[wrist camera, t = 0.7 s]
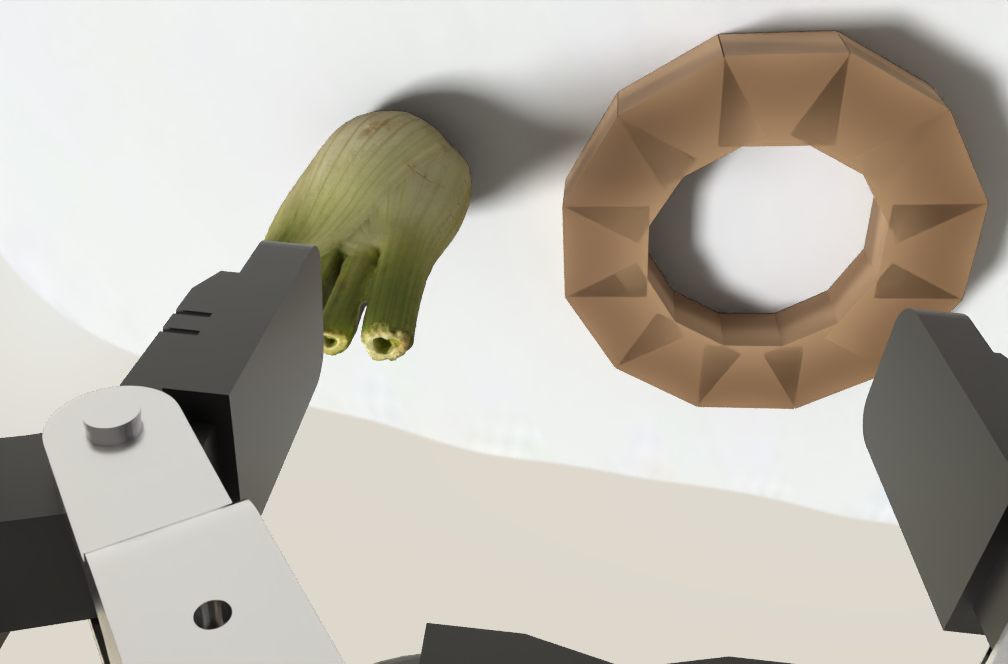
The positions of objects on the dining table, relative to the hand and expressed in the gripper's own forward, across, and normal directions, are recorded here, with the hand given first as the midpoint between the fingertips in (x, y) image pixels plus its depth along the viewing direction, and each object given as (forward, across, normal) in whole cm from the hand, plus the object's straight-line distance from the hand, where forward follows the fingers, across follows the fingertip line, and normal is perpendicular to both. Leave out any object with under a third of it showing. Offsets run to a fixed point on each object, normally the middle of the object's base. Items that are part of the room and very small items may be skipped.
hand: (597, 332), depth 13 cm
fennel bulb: (+21, +6, +6) cm, 23 cm away
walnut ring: (+20, -7, +7) cm, 23 cm away
